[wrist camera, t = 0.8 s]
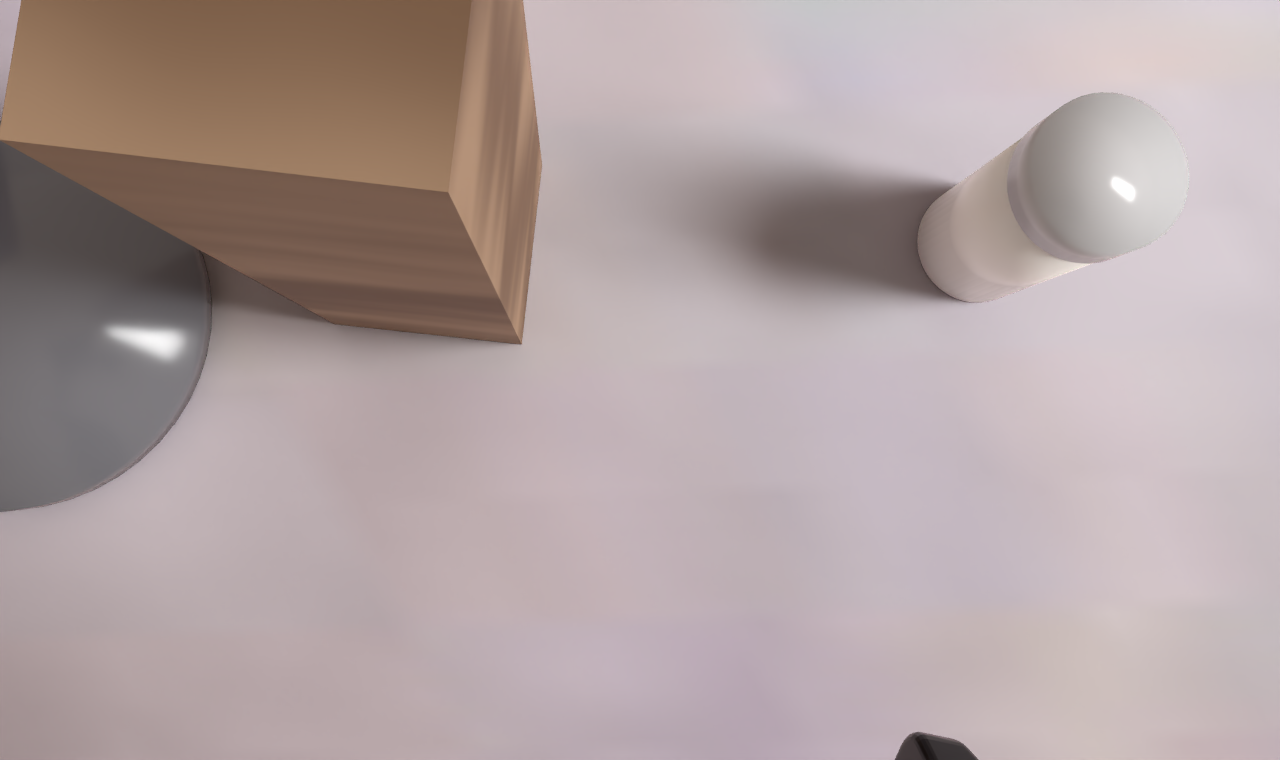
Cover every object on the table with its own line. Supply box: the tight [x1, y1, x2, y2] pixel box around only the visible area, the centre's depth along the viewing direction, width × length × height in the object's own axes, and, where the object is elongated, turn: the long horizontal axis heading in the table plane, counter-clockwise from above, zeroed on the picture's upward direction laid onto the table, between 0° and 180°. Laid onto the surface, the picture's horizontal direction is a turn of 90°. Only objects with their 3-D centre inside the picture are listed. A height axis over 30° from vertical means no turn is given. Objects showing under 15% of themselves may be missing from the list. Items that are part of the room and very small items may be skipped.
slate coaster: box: [0, 121, 212, 512], centre depth 21 cm, size 9×9×1 cm
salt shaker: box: [917, 92, 1189, 303], centre depth 21 cm, size 3×3×6 cm
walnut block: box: [0, 0, 542, 344], centre depth 16 cm, size 4×4×13 cm
